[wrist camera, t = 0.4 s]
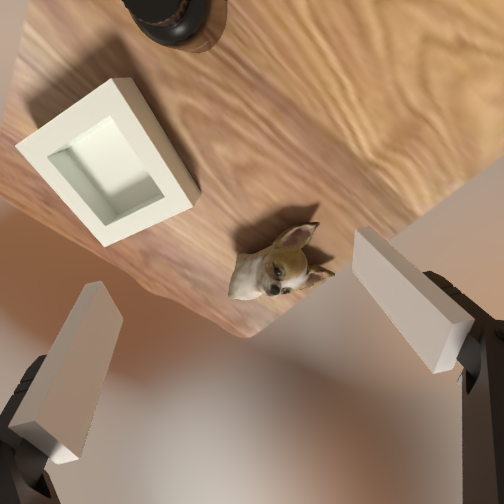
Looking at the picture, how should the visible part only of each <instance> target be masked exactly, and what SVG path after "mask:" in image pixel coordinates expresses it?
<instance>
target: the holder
mask: <svg viewBox="0 0 504 504" xmlns="http://www.w3.org/2000/svg"><path fill="white" fill-rule="evenodd" d="M15 147H16V148H17V149H18V150H19V151H20V152H21V153H22V155H23V156H24V157H25V158H26V159H27V160H28V161H29V162H30V164H31V165H32V166H33V167H34V168H35V169H36V170H37V172H38V173H39V174H40V175H41V176H42V177H43V178H44V179H45V181H46V182H47V183H48V184H49V185H50V186H51V187H52V188H53V190H54V191H55V192H56V193H57V194H58V195H59V196H60V197H61V199H62V200H63V201H64V202H65V203H66V204H67V205H68V207H69V208H70V209H71V210H72V211H73V212H74V213H75V214H76V216H77V217H78V218H79V219H80V220H81V221H82V222H83V223H84V225H85V226H86V227H87V228H88V229H89V230H90V231H91V232H92V234H93V235H94V236H95V237H96V238H97V239H98V240H99V241H100V243H101V244H102V245H103V246H104V247H106V246H108V245H110V244H113V243H115V242H117V241H119V240H121V239H124V238H126V237H128V236H130V235H132V234H135V233H137V232H139V231H141V230H143V229H145V228H148V227H150V226H152V225H154V224H156V223H159V222H161V221H163V220H165V219H167V218H170V217H172V216H174V215H176V214H178V213H181V212H183V211H185V210H187V209H189V208H192V207H193V206H194V205H195V203H196V201H197V200H198V198H199V197H200V195H201V191H200V190H199V188H198V187H197V185H196V183H195V182H194V180H193V178H192V177H191V175H190V173H189V172H188V170H187V168H186V167H185V165H184V163H183V162H182V160H181V158H180V157H179V155H178V153H177V152H176V150H175V148H174V147H173V145H172V143H171V142H170V140H169V139H168V137H167V135H166V134H165V132H164V130H163V129H162V127H161V125H160V124H159V122H158V120H157V119H156V117H155V115H154V114H153V112H152V110H151V109H150V107H149V105H148V104H147V102H146V100H145V99H144V97H143V95H142V94H141V92H140V91H139V89H138V87H137V86H136V84H135V82H134V81H133V79H132V77H125V78H111V79H109V80H108V81H106V82H105V83H103V84H102V85H101V86H99V87H98V88H96V89H95V90H94V91H92V92H91V93H89V94H88V95H86V96H85V97H84V98H82V99H81V100H79V101H78V102H76V103H75V104H74V105H72V106H71V107H69V108H68V109H67V110H65V111H64V112H62V113H61V114H59V115H58V116H57V117H55V118H54V119H52V120H51V121H49V122H48V123H47V124H45V125H44V126H42V127H41V128H39V129H38V130H37V131H35V132H34V133H32V134H31V135H30V136H28V137H27V138H25V139H24V140H22V141H21V142H20V143H18V144H17V145H15Z"/></svg>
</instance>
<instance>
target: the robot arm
mask: <svg viewBox="0 0 504 504" xmlns="http://www.w3.org/2000/svg"><path fill="white" fill-rule="evenodd" d="M352 271H353V272H354V274H355V275H356V276H357V277H358V279H359V280H360V281H361V282H362V284H363V285H364V286H365V288H366V289H367V290H368V291H369V293H370V294H371V295H372V297H373V298H374V299H375V300H376V302H377V303H378V304H379V305H380V307H381V308H382V309H383V311H384V312H385V313H386V314H387V316H388V317H389V318H390V320H391V321H392V322H393V323H394V325H395V326H396V327H397V328H398V330H399V331H400V332H401V333H402V335H403V336H404V337H405V339H406V340H407V341H408V342H409V344H410V345H411V346H412V347H413V349H414V350H415V351H416V353H417V354H418V355H419V356H420V358H421V359H422V360H423V362H424V363H425V364H426V365H427V366H428V368H429V369H430V370H431V372H432V373H433V374H435V373H439V372H443V371H447V370H452V369H453V366H454V364H455V362H456V360H458V361H459V362H460V363H461V364H462V365H463V367H464V369H463V371H462V373H461V375H460V377H459V379H458V381H457V384H456V385H459V386H460V385H461V383H462V437H463V438H462V439H463V441H462V447H463V448H462V449H463V450H462V453H463V455H462V457H463V504H504V321H503V320H495V319H494V318H492V317H491V316H490V315H489V314H488V313H486V312H485V311H484V310H483V309H481V308H480V307H479V306H478V305H477V304H475V303H474V302H473V301H472V300H471V299H469V298H468V297H467V296H466V295H465V294H462V293H461V291H460V290H458V289H457V288H456V287H453V285H452V284H451V283H450V282H449V281H447V280H446V279H445V278H444V277H442V276H440V275H438V274H436V273H434V272H432V271H427V272H421V271H420V270H419V269H417V268H416V267H415V266H414V265H413V264H412V263H411V262H409V261H408V260H407V259H406V258H405V257H404V256H403V255H402V254H400V253H399V252H398V251H397V250H396V249H394V247H392V246H391V245H390V244H389V243H388V242H387V241H386V240H385V239H383V238H382V237H381V236H380V235H379V234H378V233H377V232H375V231H374V230H373V229H372V228H371V227H370V226H368V227H363V228H358V229H355V241H354V252H353V264H352ZM122 322H123V317H122V316H121V314H120V312H119V310H118V309H117V307H116V305H115V303H114V302H113V300H112V298H111V296H110V295H109V293H108V291H107V289H106V288H105V286H104V284H103V282H102V281H98V282H93V283H88V284H86V285H85V286H84V288H83V290H82V292H81V294H80V296H79V297H78V299H77V301H76V303H75V305H74V307H73V308H72V310H71V312H70V314H69V316H68V318H67V319H66V321H65V323H64V325H63V327H62V329H61V330H60V333H59V334H58V336H57V338H56V340H55V341H54V343H53V345H52V347H51V349H50V351H49V352H48V354H47V355H42V356H39V357H38V358H37V359H36V361H34V362H33V363H32V365H31V366H30V367H29V368H28V369H27V370H26V372H25V374H24V376H23V377H22V379H21V381H20V384H18V386H17V388H16V389H15V391H14V395H12V396H11V398H10V400H9V401H8V403H7V405H6V406H5V408H4V410H3V412H2V413H1V415H0V504H61V503H60V501H59V499H58V496H57V494H56V491H55V489H54V486H53V484H52V482H51V479H50V477H49V475H48V473H47V472H46V471H45V470H44V467H45V465H46V462H47V459H48V458H50V459H51V460H52V461H53V462H55V463H56V464H62V463H66V462H70V461H74V460H78V459H80V457H81V454H82V451H83V447H84V444H85V441H86V438H87V435H88V431H89V428H90V425H91V422H92V419H93V415H94V412H95V409H96V405H97V402H98V399H99V396H100V393H101V390H102V386H103V383H104V380H105V377H106V374H107V370H108V367H109V364H110V360H111V358H112V354H113V351H114V348H115V345H116V341H117V338H118V335H119V332H120V329H121V325H122Z"/></svg>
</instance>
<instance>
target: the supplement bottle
mask: <svg viewBox="0 0 504 504" xmlns="http://www.w3.org/2000/svg"><path fill="white" fill-rule="evenodd" d="M122 1H123V2H124V4H125V7H126V8H127V9H128V10H129V12H130V14H131V16H132V18H133V20H134V21H135V23H136V24H137V26H138V27H139V28H140V29H141V31H142V32H143V33H144V34H145V35H146V36H148V37H149V38H150V39H152V40H153V41H155V42H156V43H158V44H160V45H163V46H166V47H169V48H173V49H177V50H182V51H186V52H191V53H201V52H205V51H207V50H209V49H211V48H212V47H213V46H214V45H215V44H216V43H217V42H218V41H219V39H220V38H221V36H222V34H223V31H224V29H225V25H226V19H227V6H226V0H122Z"/></svg>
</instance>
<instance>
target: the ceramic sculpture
mask: <svg viewBox="0 0 504 504" xmlns="http://www.w3.org/2000/svg"><path fill="white" fill-rule="evenodd" d="M319 224H320V222H306V223H300V224H298V225H294V226H292V227H290V228H288V229H287V230H285V231H284V232H282V233H281V234H280V235H279V236H278V237H277V238H276V239H275V240H274V242H273V244H272V246H269V247H267V248H265V249H263V250H261V251H259V252H257V253H255V254H247V253H241V254H239V255H238V256H237V261H236V266H235V270H234V272H233V274H232V277H231V282H230V285H229V292H228V297H229V298H230V299H234V298H235V299H240V300H251V299H254V298H257V297H259V296H260V295H262V294H263V295H265V296H269V297H276V296H278V295H280V294H288V293H291V292H292V291H298V290H302V289H304V288H309V287H311V286H313V285H314V283H317V282H319V281H321V280H322V279H324V278H326V277H332V276H335V273H333V272H331V271H329V270H327V269H325V268H323V267H321V266H319V265H315V264H311V265H308V261H307V257H306V256H305V254H304V253H303V251H302V250H301V249H302V248H303V247H305V246H306V245H307V243H308V242H309V240H310V239H311V236H312V234H313V232H314V230H315V229H316V228H317V227H318V225H319Z"/></svg>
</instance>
